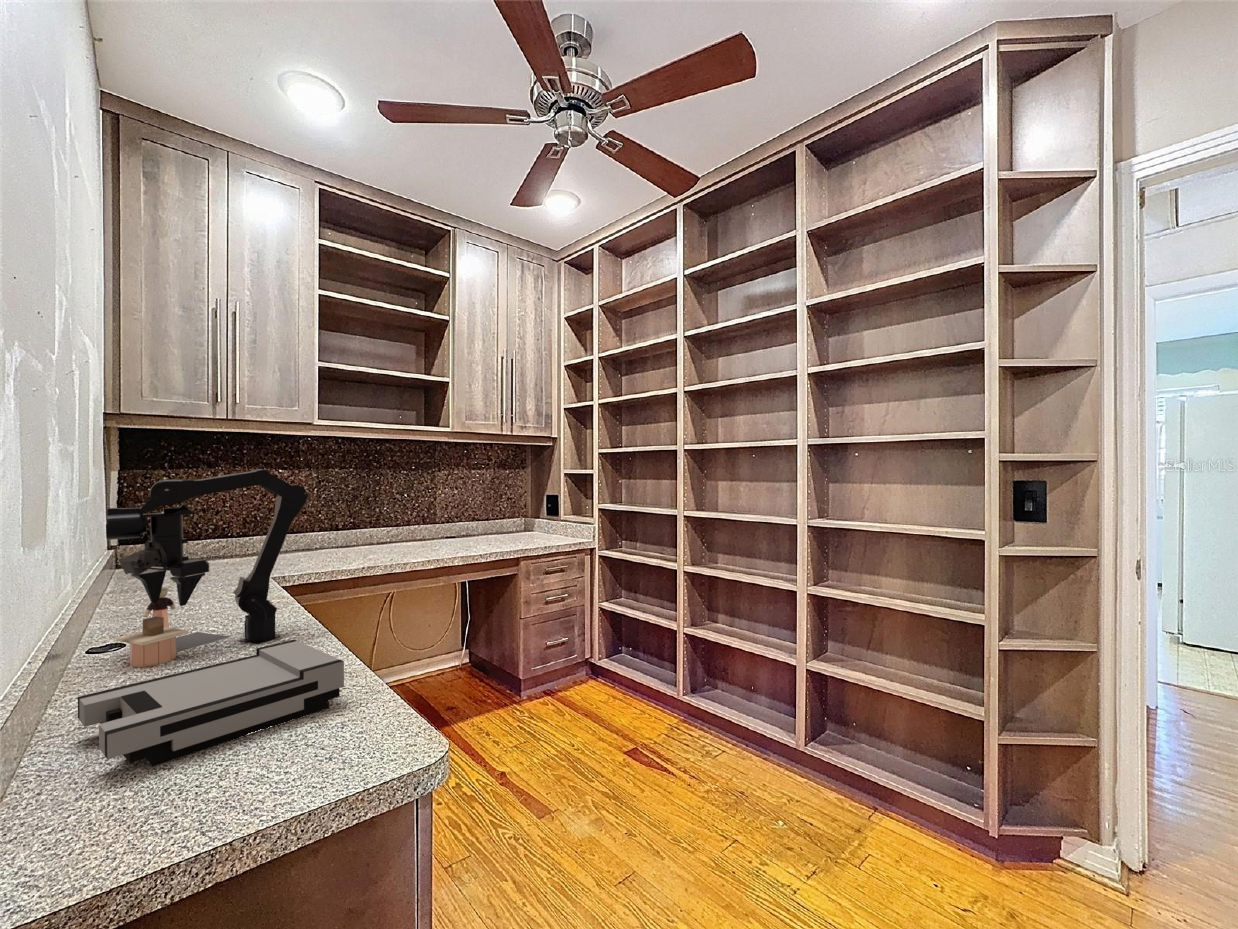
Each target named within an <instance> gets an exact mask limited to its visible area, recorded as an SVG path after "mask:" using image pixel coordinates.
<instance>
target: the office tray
mask: <svg viewBox="0 0 1238 929" xmlns="http://www.w3.org/2000/svg"><path fill="white" fill-rule="evenodd" d="M255 652H256V654H253V655H250V656H244V657H240V658H236V659H231V660H229V661H224V662H220V663H215V664H212V665H211V664H210V665H208V666H202V667H198V668H194V669H190V670H189V669H188V670H186V671H182V672H177V673H172V674H169V675H165V676H161V677H157V678H151V679H148V680H143V681H139V682H135V683H131V684H126V685H122V686H117V687H114V688H110V689H105V690H101V691H96V692H93V693H89V694H84V695H78V696H77V719H78V720H79V722H80V723H81V725H82V727H84V728H87V727H89V726H94V725H97V724H98V749H99V750H100V751H101V753H102V754H103V755H104V757H105V758H106V760H111V759H114V758H117V757H120V756H123V757H124V759H125V760H126V761H127V763H129V764H133V763H136V762H139V761H143V760H146V762H147V763H148V764H149V765H150V767H152V768H153V767H157V766H159V765H162V764H166V763H168V762H171V761H174V760H179V759H180V758H183V757H187V756H189V755H192V754H195V753H198V752H201V751H205V750H208V749H210V748H214V747H217V746H219V745H222V743H223V744H225V743H229V742H231V740H232V741H234V740H233V739H235V740H237V738H238V739H240V738H239V737H241V736H244V737H246V736H245V735H247V734H248V733H251V732H255V731H258V730H260V729H265V730H267V729H266V728H268V727H270V726H274V727H276V726H275V725H277V726H279V725H278V724H280V725H282V724H281V723H283V724H285V723H284V722H286V723H289V722H288V721H290V720H292V719H296V720H298V718H299V719H301V717H302V718H304V717H303V716H305V717H307V716H306V715H308V716H310V715H313V713H314V714H316V712H317V713H319V712H323V711H326V710H328V709H330V700H332V699H336V698H340V692H341V691H340V689H341V688H344V687H345V661H344V660H342V659H341V658H340V659H339V658H338V657H336V656H334V655H330V654H329V653H326V652H324V651H322V650H319V649H317V648H314V647H312V646H310V645H308V644H305V643H303V642H300V641H299V640H296V639H292V640H287V641H282V642H278V643H274V644H269V645H264V646H259V647H257V648H256V650H255ZM290 722H291V721H290ZM268 729H269V728H268ZM247 736H248V735H247ZM241 738H242V737H241ZM228 741H229V742H228Z"/></svg>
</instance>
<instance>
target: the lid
mask: <svg viewBox="0 0 1238 929" xmlns="http://www.w3.org/2000/svg"><path fill="white" fill-rule="evenodd" d="M188 634H190V630H186V629H179V628H174V627H173V628H172V627H169V628H167V627H164V617H157V616H155V617H152V616H151V617H145V618H143V619H142V631H140V632H136V633H132V634H128V635H123V636H119V637H116V638H115V639H116V640H115V641H116V642H120V643H128V644H130V643H133V644H139V645H146V644H150V643H154V642H158V641H162V640H165V639H169V638H173V637H176V638H177V637H180V636H184V635H188Z"/></svg>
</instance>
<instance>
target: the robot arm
mask: <svg viewBox="0 0 1238 929" xmlns="http://www.w3.org/2000/svg"><path fill="white" fill-rule="evenodd" d="M254 486H255V487H256V486H259V487H260V488H262V489H264V490H265V491H267V492H268V493H270V494H272V495H274V496H276V499H275V503H274V504H275V505H274V513H273V514H274V515H273V519H272V522H271V524H270V526H269V529H268V532H267V534H266V536H265V538H264V541H263V543H262V546H261V548H260V551H259V553H258V555H257V558H256V560H255V563H254V566H253V567H252V570H251V572H250V573H249V574H248V575H247V577H246V578H245V577H243V576H240V577H239V579H238V584H237V587H236V588H235V590H234V591H233V595H235V596H234V601H235V603H236V604H237V607H238V608H239V609H240V610H241V611H242V612H244V613H246V614H245V616H244V618H245V619H244V638H242V639H239V640H238V641H239V643H244V644H245V643H246V644H253V645H259V644H263V643H266V642H269V641H272V640H275V639H278V638H281V637H282V635H281V634H276V613H277V610H278V608H277V606H275V605H274V604H273V603H272V601H270V600H268V595H269V591H270V590H269V589H270V580H271V574H272V572H273V569H274V567H275V565H276V562H277V559H278V558H279V555H280V551H281V550H282V548H283V545H284V542H285V539H286V537H287V535H288V533H289V530H290V527H291V524H292V523H293V522H294V520H295V519H296V517H297V516H298V515H299V513H300V512H301V510H303V507H305V505H306V503H307V502H308V498H309V494H308V492H307V490H306V488H304V486H301V485H298V484H292V483H291V484H290V483H288V482H286V481H284V479H281V478H279V477H277V476H275V475H274V474H273V473H270V471H268V470H266V469H264V468H262V469H261V468H260V469H259V468H257V469H254V470H251V471H245V472H244V471H243V472H238V473H233V474H226V475H220V476H219V475H218V476H213V477H208V478H200V479H162V480H159V481H157V482H155V483H154V484H153V485H152V486H151V488H150V489H149V497H148V498H147V499H146V500H145V501H144V502H142V503H141V506H140V507H125V508H119V507H109V508H107V509H106V512H107V513H106V514H107V515H106V517H107V518H106V523H105V537H106V541H111V540H112V541H113V540H125V539H137V538H138V539H139V538H141V534H142V535H143V534H144V533H148V530H147V529H148V526H147V525H148V522H147V518H149V517H150V540H146V541H145V543H144V549H141V550H139V551H136V552H133V553H132V554H130V555H128V556H125V557H122V558H121V559H119V564H120V566H121V568H122V569H123V572H124V573H125V575H128V574H130V576H131V577H133V578H136V579H137V580H139V581H140V582H141V583H142V586H143V587H144V589H145V591H146V594H147V596H148V598H149V601H150V603H157V602H158V600H159V597H160V594H161V590H162V586H163V585H164V581H165V577H166V574H167V571H169V573H170V574H171V576H170V577H169V579H170V580H171V581H173V582H174V583H175V584H176V590H177V598H178V604H179V606H180V607H185V606H186V605H187V604H188V603H189V600H190V598H191V597H192V595H193V592H194V590H195V588H196V587H197V585H198V583H199V582H200V581H201V578H202V577H203V576H206V573H210V562H208V560H207V559H197V558H195V559H189V556H187V555H184V544H188V543H189V538H184V523H183V522H184V521H183V519H184V517H183V516H185V515H186V516H187V515H193V513H194V511H193V510H191V509H190V508H188V507H187V506H186V504H185V503H183V502H186V501H189V500H193V499H194V498H197V497H200V496H204V495H209V494H214V493H215V494H216V493H220V492H221V493H222V492H227V491H233V490H238V489H244V488H251V487H254ZM180 503H183V504H181V505H180V506H179V507H171V506H173V505H176V504H177V505H178V504H180ZM169 506H170V507H169ZM161 507H163V510H162V512H155V513H153V512H154V511H155V510H158V509H159V508H161ZM164 507H165V508H164ZM145 512H146V513H145ZM149 512H151V513H149Z"/></svg>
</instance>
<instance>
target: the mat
mask: <svg viewBox="0 0 1238 929" xmlns="http://www.w3.org/2000/svg"><path fill="white" fill-rule="evenodd" d="M230 637H231V635H230V636H229V635H222V634H215V633H208V632H202V631H196V632H193V633H188V634H184V635H180V636H177V637H176V652H182V651H186V650H190V649H193V648H196V647H200V646H203V645H206V644H210V643H213V642H217V641H220V640H221V641H222V640H224V639H228V638H230Z"/></svg>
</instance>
